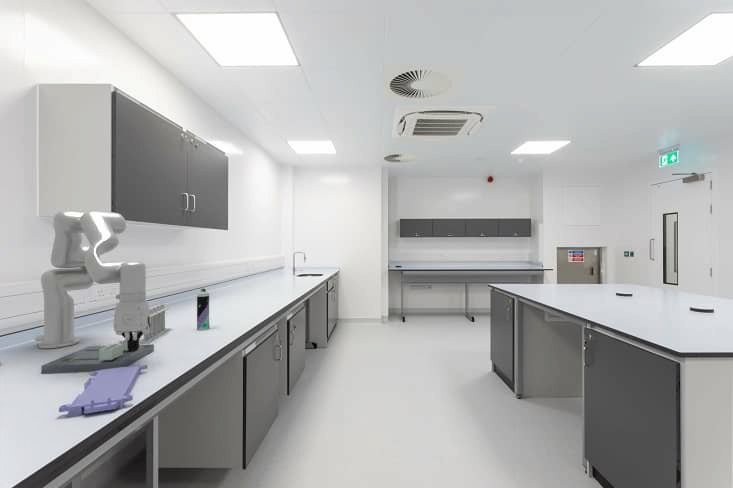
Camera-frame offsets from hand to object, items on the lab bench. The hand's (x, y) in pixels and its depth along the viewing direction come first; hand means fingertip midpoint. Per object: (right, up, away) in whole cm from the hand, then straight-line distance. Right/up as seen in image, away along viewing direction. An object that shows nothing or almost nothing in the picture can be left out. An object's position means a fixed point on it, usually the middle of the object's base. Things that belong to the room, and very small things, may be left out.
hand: (133, 351), depth 121 cm
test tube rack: (-16, -6, +39) cm, 43 cm away
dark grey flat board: (-14, -5, +4) cm, 15 cm away
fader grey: (-8, -2, +10) cm, 13 cm away
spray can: (0, -5, +52) cm, 53 cm away
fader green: (-7, -2, -1) cm, 8 cm away
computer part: (+8, -5, -22) cm, 24 cm away
